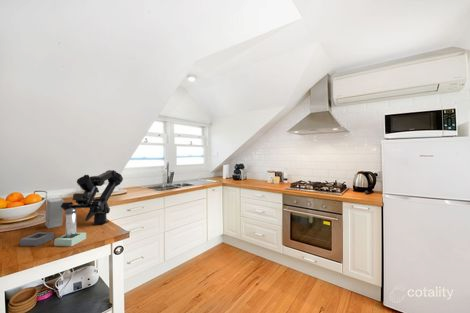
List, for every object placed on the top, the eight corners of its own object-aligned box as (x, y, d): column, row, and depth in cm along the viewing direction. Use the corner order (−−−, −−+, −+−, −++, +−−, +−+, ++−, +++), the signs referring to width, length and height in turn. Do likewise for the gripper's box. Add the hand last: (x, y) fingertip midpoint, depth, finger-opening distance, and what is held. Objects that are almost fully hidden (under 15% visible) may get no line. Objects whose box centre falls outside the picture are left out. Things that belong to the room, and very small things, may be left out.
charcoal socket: (38, 238, 100) (38, 232, 100) (54, 238, 99) (54, 232, 99) (19, 245, 91) (19, 239, 91) (36, 246, 91) (36, 239, 91)
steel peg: (66, 241, 96) (66, 208, 96) (77, 239, 98) (77, 207, 98) (64, 244, 93) (64, 210, 93) (75, 242, 95) (75, 209, 95)
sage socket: (70, 238, 100) (70, 232, 100) (86, 238, 99) (86, 232, 99) (54, 245, 92) (54, 239, 92) (71, 246, 91) (71, 239, 91)
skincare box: (44, 225, 117) (44, 199, 117) (60, 222, 122) (60, 197, 122) (47, 229, 112) (48, 201, 112) (64, 225, 117) (64, 199, 117)
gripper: (63, 187, 103) (45, 214, 92) (101, 186, 105) (89, 213, 95) (73, 198, 111) (58, 224, 100) (108, 197, 113) (98, 223, 103)
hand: (75, 221), depth 99 cm, fingers open, 9 cm apart
